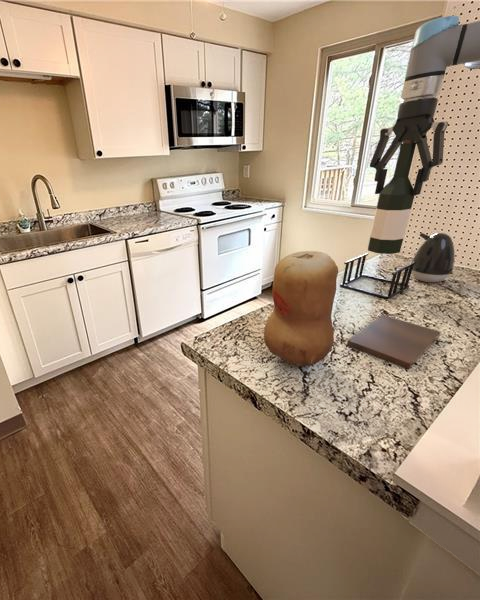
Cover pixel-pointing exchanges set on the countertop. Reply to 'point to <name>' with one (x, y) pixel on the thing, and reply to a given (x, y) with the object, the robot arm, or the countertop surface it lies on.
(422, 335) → the cutting board
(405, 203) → the wine bottle
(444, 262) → the pump dispenser
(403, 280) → the dish rack
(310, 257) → the butternut squash
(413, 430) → the countertop surface
